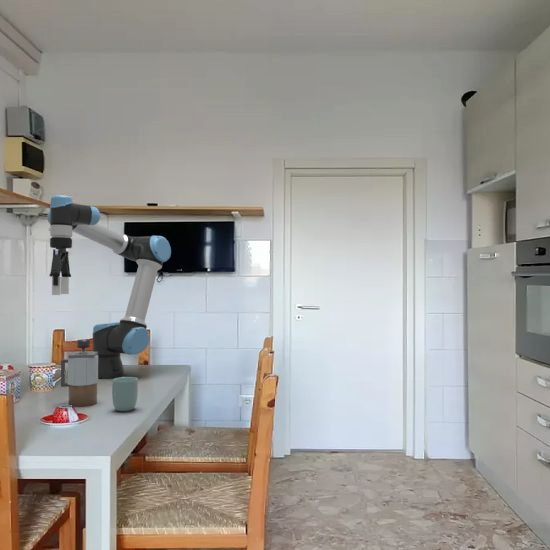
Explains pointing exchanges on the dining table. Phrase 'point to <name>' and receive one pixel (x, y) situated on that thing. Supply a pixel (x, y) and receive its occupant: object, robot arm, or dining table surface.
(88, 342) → the plunger
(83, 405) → the carafe
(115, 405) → the cup
